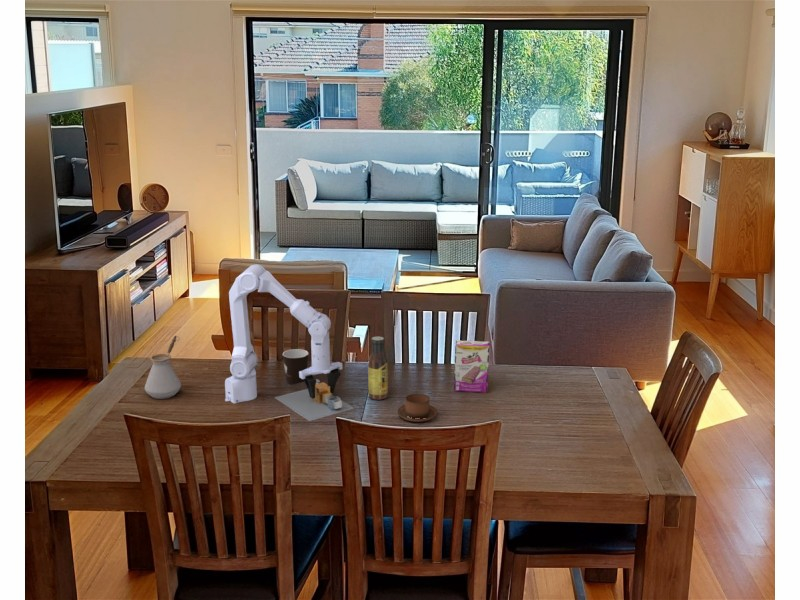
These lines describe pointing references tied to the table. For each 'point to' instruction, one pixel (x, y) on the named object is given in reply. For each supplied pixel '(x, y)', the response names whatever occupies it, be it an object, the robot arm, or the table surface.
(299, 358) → the coffee mug
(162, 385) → the coffee pot
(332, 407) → the shaft rig
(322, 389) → the brown square block
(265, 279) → the robot arm
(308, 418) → the base board
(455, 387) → the candy bar box
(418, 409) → the cup and saucer
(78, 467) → the table surface
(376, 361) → the sauce bottle
